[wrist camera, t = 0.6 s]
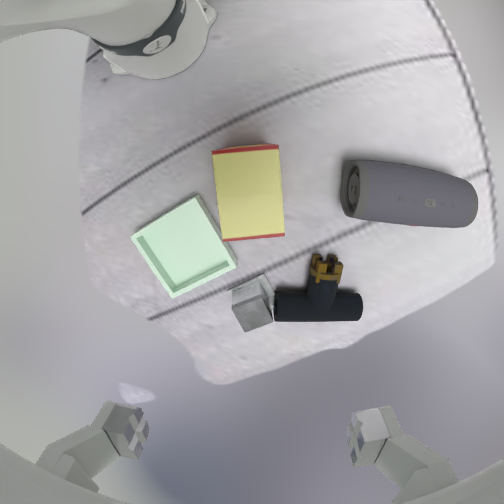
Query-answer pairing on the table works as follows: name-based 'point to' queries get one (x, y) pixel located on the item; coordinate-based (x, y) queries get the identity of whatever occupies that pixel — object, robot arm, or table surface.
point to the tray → (185, 247)
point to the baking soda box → (249, 191)
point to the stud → (264, 284)
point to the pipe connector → (319, 297)
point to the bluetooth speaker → (406, 195)
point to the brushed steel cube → (251, 307)
